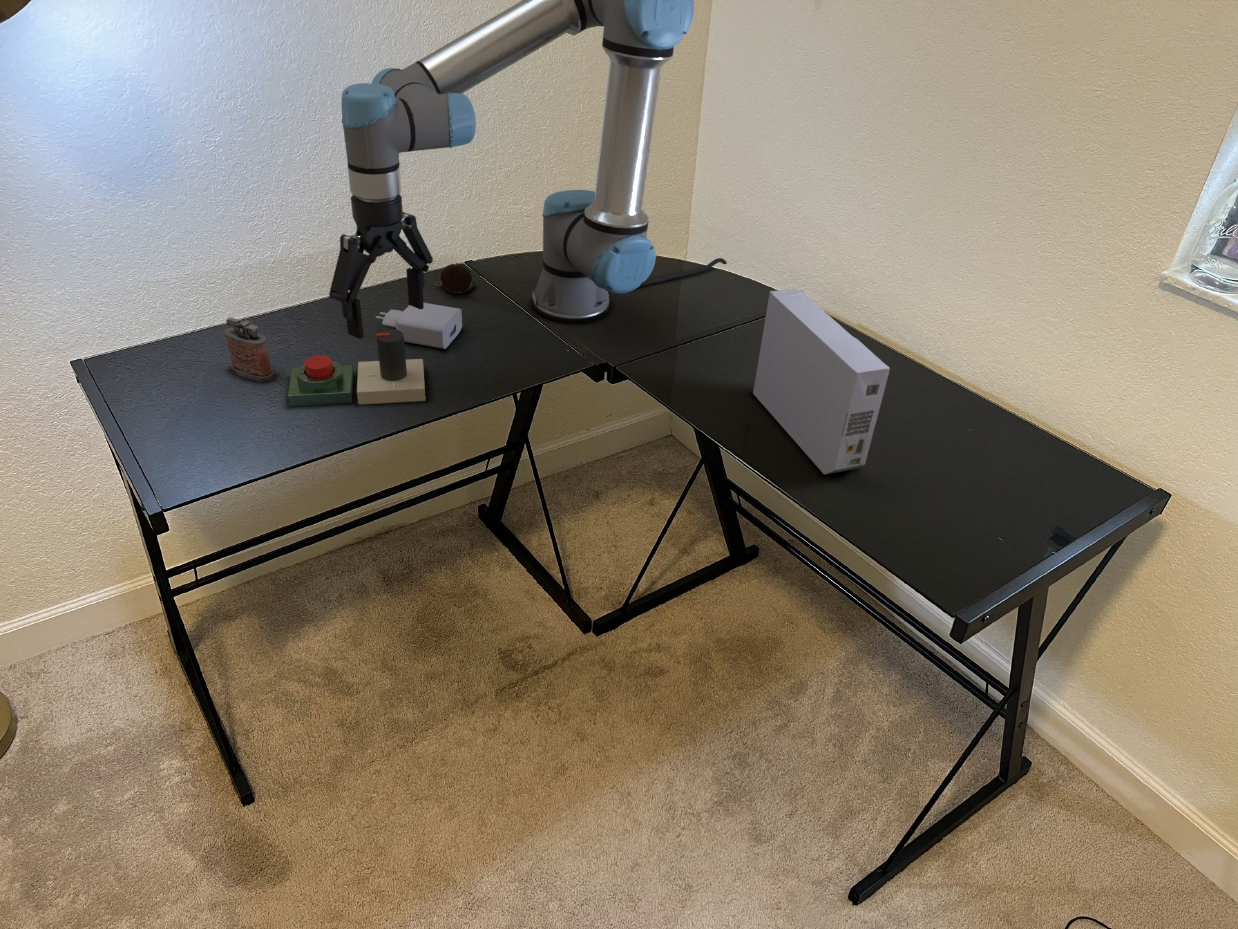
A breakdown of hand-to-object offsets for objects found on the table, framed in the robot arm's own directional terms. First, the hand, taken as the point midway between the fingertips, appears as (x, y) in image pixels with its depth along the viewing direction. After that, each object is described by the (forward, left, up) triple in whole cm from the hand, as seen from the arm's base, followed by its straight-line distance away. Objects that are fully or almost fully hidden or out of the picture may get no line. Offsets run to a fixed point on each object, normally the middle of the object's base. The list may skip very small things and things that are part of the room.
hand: (387, 320), depth 155 cm
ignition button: (+12, 0, -9) cm, 15 cm away
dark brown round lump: (-12, -37, -13) cm, 41 cm away
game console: (-67, +21, -13) cm, 72 cm away
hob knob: (0, 0, -10) cm, 10 cm away
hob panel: (0, 0, -13) cm, 13 cm away
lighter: (+24, -7, -13) cm, 28 cm away
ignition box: (+12, 0, -13) cm, 17 cm away
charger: (-4, -19, -13) cm, 23 cm away
